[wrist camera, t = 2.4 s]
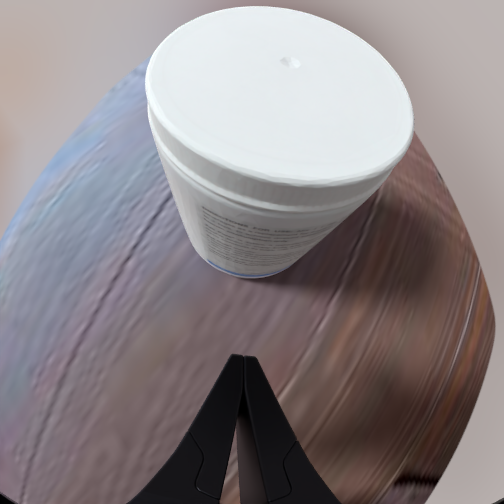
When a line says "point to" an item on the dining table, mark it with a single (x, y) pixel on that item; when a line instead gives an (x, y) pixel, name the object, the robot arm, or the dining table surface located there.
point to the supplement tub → (272, 131)
